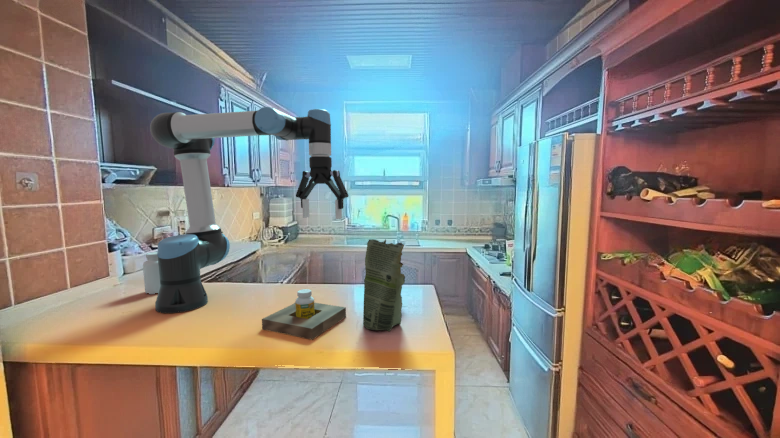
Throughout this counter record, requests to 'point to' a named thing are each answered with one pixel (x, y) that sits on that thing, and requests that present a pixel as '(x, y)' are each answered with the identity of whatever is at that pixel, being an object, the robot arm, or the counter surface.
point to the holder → (304, 321)
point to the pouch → (383, 285)
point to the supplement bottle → (305, 304)
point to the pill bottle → (151, 273)
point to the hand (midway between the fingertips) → (322, 218)
